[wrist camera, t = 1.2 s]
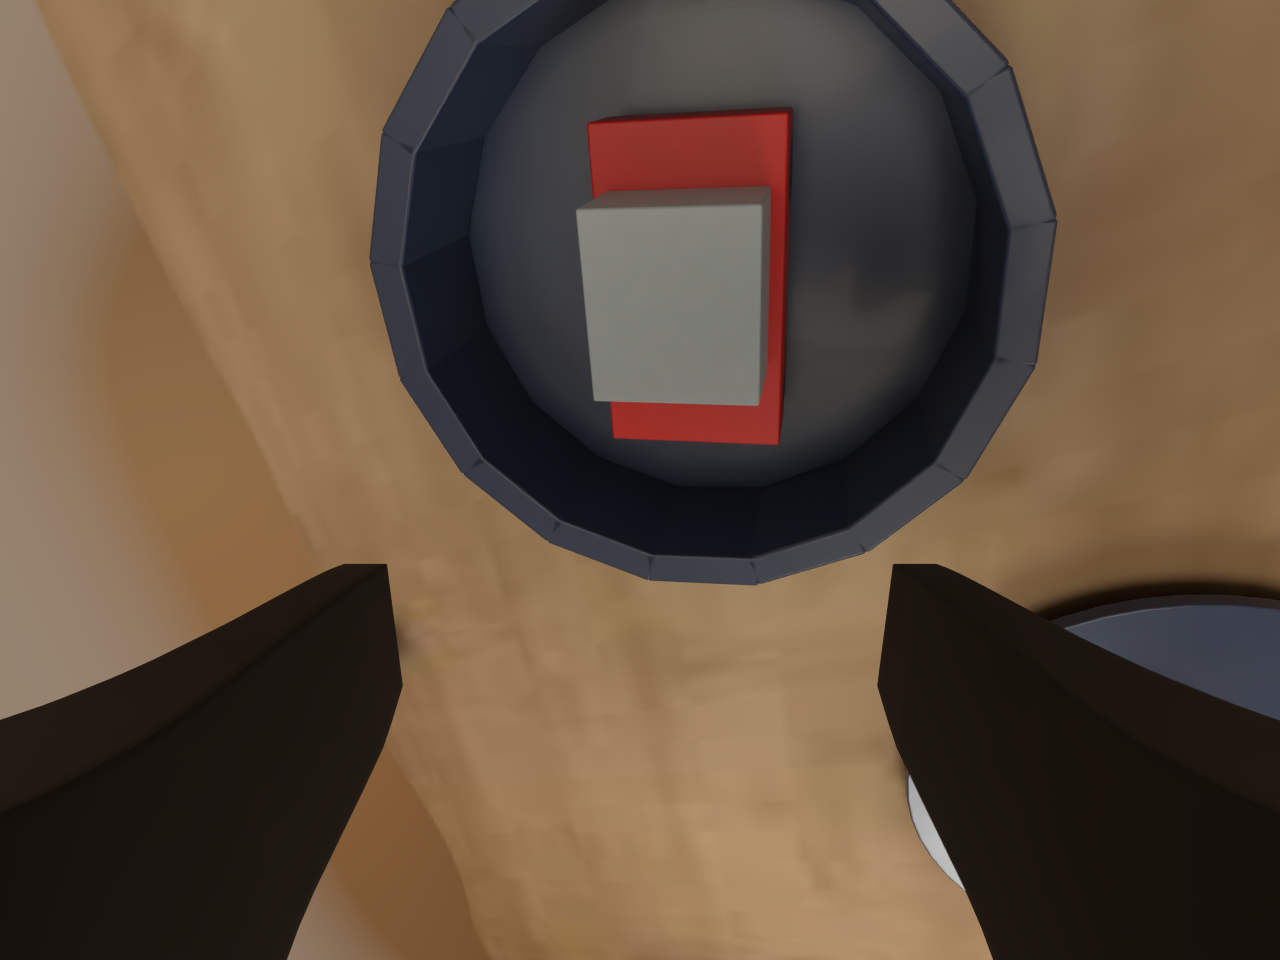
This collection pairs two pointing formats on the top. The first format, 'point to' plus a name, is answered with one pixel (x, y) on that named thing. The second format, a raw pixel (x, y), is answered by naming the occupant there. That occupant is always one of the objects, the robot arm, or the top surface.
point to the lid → (1171, 659)
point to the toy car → (689, 272)
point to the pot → (817, 268)
